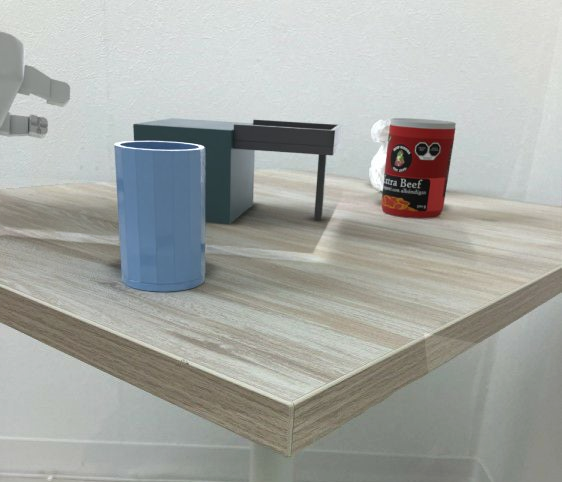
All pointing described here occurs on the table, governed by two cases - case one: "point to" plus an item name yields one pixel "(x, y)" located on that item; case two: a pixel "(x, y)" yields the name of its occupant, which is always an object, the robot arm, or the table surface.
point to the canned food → (417, 167)
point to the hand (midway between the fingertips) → (56, 113)
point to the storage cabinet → (243, 155)
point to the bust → (379, 153)
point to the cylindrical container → (161, 214)
